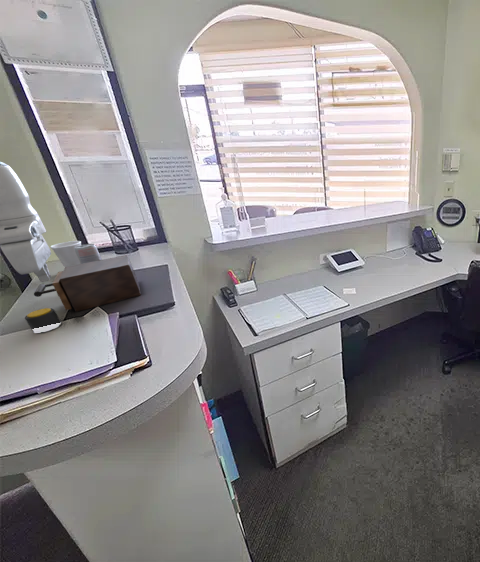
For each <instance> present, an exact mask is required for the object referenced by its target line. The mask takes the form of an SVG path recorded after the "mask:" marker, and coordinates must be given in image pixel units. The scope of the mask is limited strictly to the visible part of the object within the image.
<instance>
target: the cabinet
mask: <svg viewBox="0 0 480 562" xmlns="http://www.w3.org/2000/svg"><path fill="white" fill-rule="evenodd" d="M62 271H63V273H62V275H61V277H60V281H61V283H62V285H63V287H64V289H65V291H66V293H67V295H68V297H69V299H70V301H71V303H72V305H73V307H72V308H73V309H74V312H76V313H77V312H82V311H85V310H88V309H93V308H96V307H101V306H105V305H107V304H112V303H116V302H120V301H123V300H128V299H131V298H136V297H139V296H141V295H142V293H141V288H140V282H139V280H138V277H137V274H136V272H135V270H134V267H133V265H132V263H131V260H130V257H129V255H128V254H126V255H119V256H115V257H108V258H104V259H102V260H98V261H93V262H88V263H83V264H78V265H73V266H67V267H64V268H63V270H62Z"/></svg>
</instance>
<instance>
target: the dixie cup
mask: <svg viewBox="0 0 480 562" xmlns="http://www.w3.org/2000/svg"><path fill="white" fill-rule="evenodd" d="M80 245H82V241H80V240H71V241H70V240H69V241H64V242H60V243H55V244H53V245H51V246H50V247H49V248H50V249H51V251H53V252H54V254H55V256H56V257H57V259H58V260H59V261H60V263H61V264H62V265H63V267H64V268H65V267H67V266H73V265H78V264H81V263H80V261H79V259H78V257H77V255H76V252H75V247H76V246H80Z"/></svg>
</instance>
